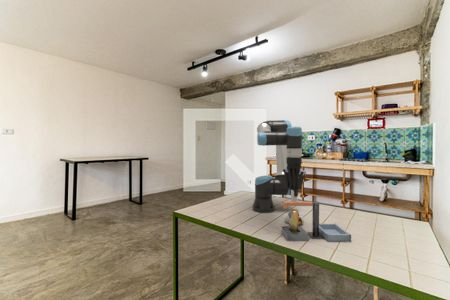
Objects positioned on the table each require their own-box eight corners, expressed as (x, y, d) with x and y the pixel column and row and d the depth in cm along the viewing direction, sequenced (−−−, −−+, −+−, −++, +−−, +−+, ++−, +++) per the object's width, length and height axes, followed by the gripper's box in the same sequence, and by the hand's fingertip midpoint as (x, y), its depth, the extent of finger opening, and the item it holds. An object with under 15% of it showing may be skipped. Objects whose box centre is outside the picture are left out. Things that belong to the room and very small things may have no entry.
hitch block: (281, 232, 111) (281, 226, 111) (301, 232, 111) (301, 226, 110) (287, 240, 101) (287, 234, 101) (308, 240, 101) (308, 234, 100)
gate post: (307, 233, 109) (307, 203, 108) (319, 233, 108) (319, 203, 108) (312, 238, 103) (312, 207, 102) (324, 238, 102) (324, 207, 102)
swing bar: (282, 207, 107) (282, 201, 107) (317, 207, 107) (317, 201, 106) (284, 209, 104) (284, 203, 104) (320, 208, 104) (320, 203, 103)
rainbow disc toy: (292, 227, 117) (292, 214, 116) (283, 221, 126) (283, 209, 126) (305, 226, 119) (305, 213, 119) (295, 220, 128) (295, 208, 128)
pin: (289, 234, 107) (289, 209, 107) (296, 234, 107) (297, 209, 107) (291, 237, 104) (292, 211, 103) (299, 237, 104) (299, 211, 103)
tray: (315, 229, 113) (315, 223, 113) (335, 229, 113) (335, 223, 113) (327, 241, 99) (327, 234, 99) (351, 241, 99) (351, 234, 99)
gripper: (279, 156, 113) (279, 200, 114) (299, 157, 102) (299, 206, 103) (288, 156, 117) (288, 198, 118) (309, 157, 106) (309, 204, 107)
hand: (293, 202), depth 110 cm, fingers closed
